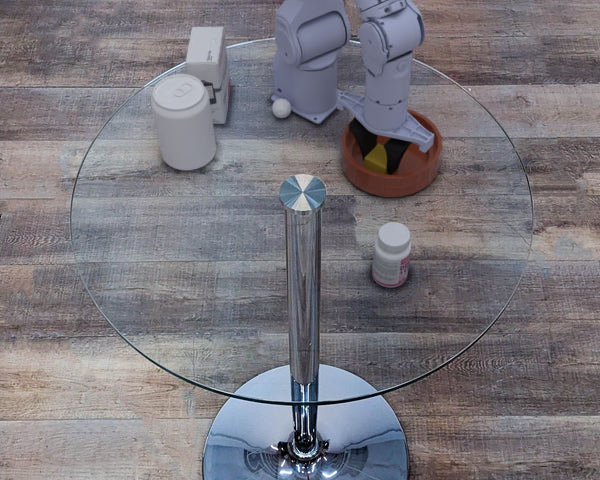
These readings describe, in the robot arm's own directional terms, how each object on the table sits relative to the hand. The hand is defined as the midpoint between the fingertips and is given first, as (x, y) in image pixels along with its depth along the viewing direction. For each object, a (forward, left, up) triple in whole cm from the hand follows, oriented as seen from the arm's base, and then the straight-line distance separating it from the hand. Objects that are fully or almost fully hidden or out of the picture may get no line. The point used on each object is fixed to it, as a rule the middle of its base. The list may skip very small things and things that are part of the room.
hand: (381, 163), depth 125 cm
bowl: (0, +2, -2) cm, 3 cm away
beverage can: (-25, -14, -2) cm, 29 cm away
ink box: (-29, -4, -2) cm, 29 cm away
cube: (0, 0, -1) cm, 1 cm away
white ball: (-19, +1, -2) cm, 19 cm away
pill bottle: (+11, -14, -2) cm, 18 cm away
